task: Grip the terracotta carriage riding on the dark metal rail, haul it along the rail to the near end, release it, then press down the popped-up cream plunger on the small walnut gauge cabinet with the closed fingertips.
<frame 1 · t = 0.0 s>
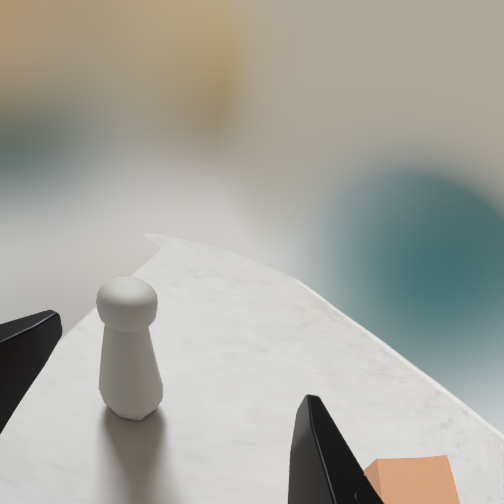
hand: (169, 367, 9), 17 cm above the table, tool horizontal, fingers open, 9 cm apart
salt shaker: (132, 404, 23), on the table
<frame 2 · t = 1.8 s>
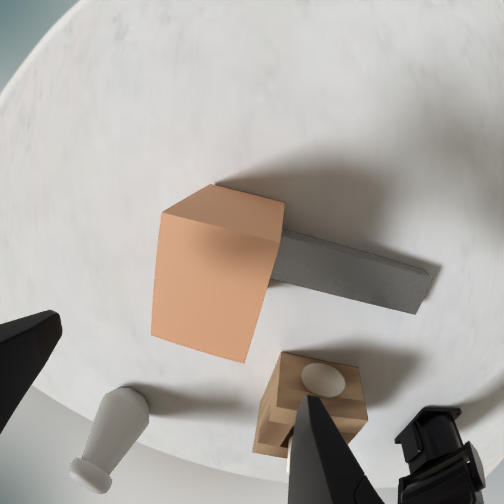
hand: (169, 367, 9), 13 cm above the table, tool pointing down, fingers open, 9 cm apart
rail: (307, 257, 20), on the table
salt shaker: (133, 397, 29), on the table
plunger: (306, 455, 18), point 8 cm above the table, slide at 0.0 cm
gauge cabinet: (307, 387, 25), on the table
carriage: (224, 262, 17), point 4 cm above the table, slide at 5.0 cm
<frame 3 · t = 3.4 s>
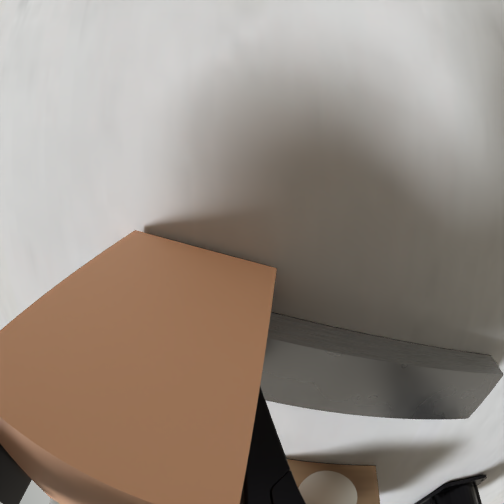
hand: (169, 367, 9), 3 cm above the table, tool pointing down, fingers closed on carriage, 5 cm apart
rail: (316, 356, 11), on the table
gauge cabinet: (305, 483, 15), on the table
carriage: (151, 401, 7), point 4 cm above the table, slide at 5.0 cm, touching gripper
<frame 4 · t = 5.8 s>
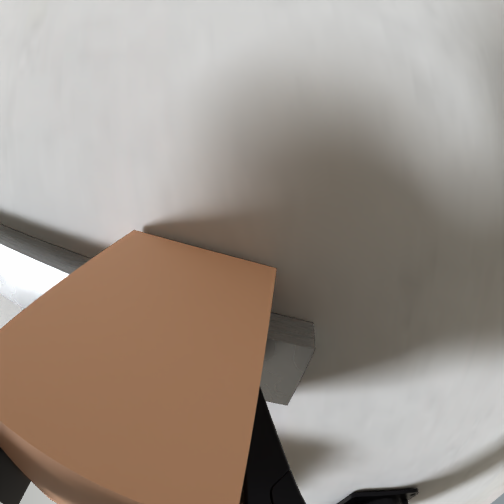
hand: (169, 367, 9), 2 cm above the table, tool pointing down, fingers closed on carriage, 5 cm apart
rail: (90, 289, 11), on the table
carriage: (150, 402, 7), point 4 cm above the table, slide at -4.7 cm, touching gripper
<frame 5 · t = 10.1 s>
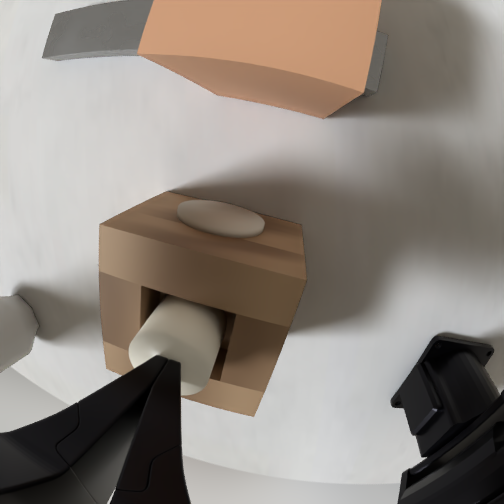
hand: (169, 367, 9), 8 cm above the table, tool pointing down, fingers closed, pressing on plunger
rail: (191, 31, 11), on the table
salt shaker: (24, 313, 20), on the table
plunger: (180, 340, 10), point 6 cm above the table, slide at 1.4 cm, touching gripper
gauge cabinet: (218, 269, 16), on the table
carriage: (282, 9, 7), point 4 cm above the table, slide at -4.7 cm
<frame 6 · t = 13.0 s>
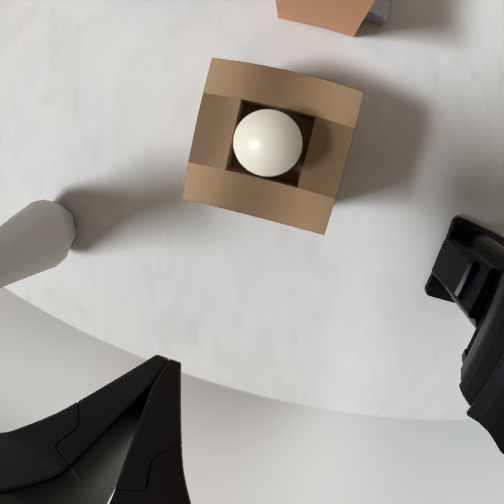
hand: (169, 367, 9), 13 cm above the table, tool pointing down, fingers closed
salt shaker: (62, 225, 23), on the table
plunger: (270, 142, 13), point 6 cm above the table, slide at 1.7 cm
gauge cabinet: (276, 142, 18), on the table
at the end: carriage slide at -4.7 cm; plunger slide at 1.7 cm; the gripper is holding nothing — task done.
